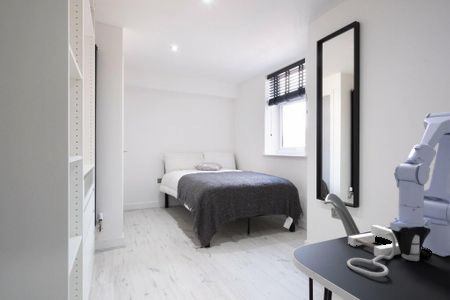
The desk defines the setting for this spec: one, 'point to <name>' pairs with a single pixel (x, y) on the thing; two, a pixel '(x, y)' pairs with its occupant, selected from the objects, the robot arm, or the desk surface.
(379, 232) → the notched shelf
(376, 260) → the hook
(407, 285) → the desk surface
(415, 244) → the white ridged cylinder
